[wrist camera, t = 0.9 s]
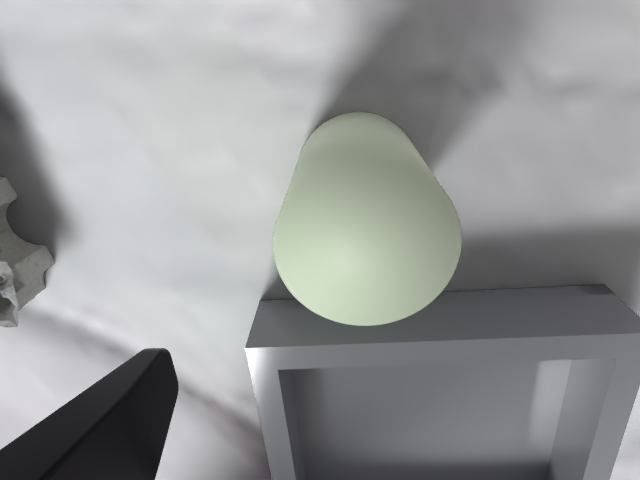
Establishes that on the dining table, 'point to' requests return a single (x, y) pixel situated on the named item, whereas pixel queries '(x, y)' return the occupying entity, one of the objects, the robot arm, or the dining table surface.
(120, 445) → the robot arm
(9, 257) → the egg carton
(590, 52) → the dining table surface
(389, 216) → the pale green cylinder
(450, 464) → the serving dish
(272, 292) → the dining table surface
